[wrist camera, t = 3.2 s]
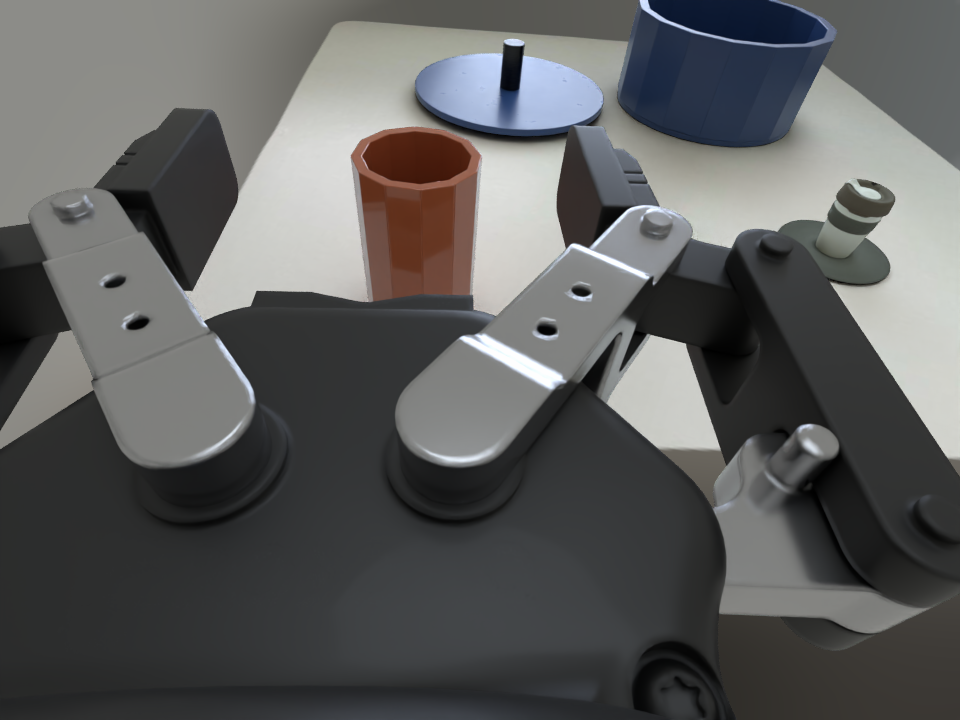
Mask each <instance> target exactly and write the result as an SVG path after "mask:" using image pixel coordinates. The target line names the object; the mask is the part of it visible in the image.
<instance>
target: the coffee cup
mask: <svg viewBox="0 0 960 720" xmlns="http://www.w3.org/2000/svg"><path fill="white" fill-rule="evenodd" d="M894 202H895V196H894V194H893V193H892V192H891V191H890V190H889V189H887V188H885V187H884V186H882V185H880V184H877V183H874V182H871V181H868V180H862V179H855V178H853V179H851V180H849V181H848V182H846V183H845V185H844V186H843V187H842V188H841V189H840V191H839V192H838V193H837V195H836V201H835V202H834V203H833V205H832V207H831V208H830V210H829V212H828V217H827V219H826V221H825V222H820V221H813V220H797V221H792V222H789V223H787V224H785V225H784V226H782V227H781V228H780V230H779V233H782V234H784V235H787V236H789V237H791V238H793V239H795V240H796V241H798V242H799V243H801V244H802V245H803V246H804V247H805V248H806V249H807V250H808V251H809V252H810V254H811V255H812V257H813V258H814V260H815V261H816V263H817V264H818V266H819V267H820V269H821V270H822V272H823V273H824V275H825V276H826V278H827V279H831V280H835V281H839V282H844V283H851V284H870V283H875V282H878V281H881V280H883V279H884V278H886V277H887V276H888V274H889V272H890V263H889V261H888V259H887V257H886V256H885V254H884V253H883V252H882V251H881V250H880V249H879V248H878V247H877V246H876V245H875V244H873V243H872V242H871V241H869V240H868V239H866V238H865V237H866V236H867V235H868V234H869V233H870V232H871V231H872V230H873V229H874V228H875V227H876V225H877V224H878V223H879V222H880V221H881V219H882V217H883V216H886V215H887V214H888V213H889V212H890V210H891V208H892V206H893V205H894Z"/></svg>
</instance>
